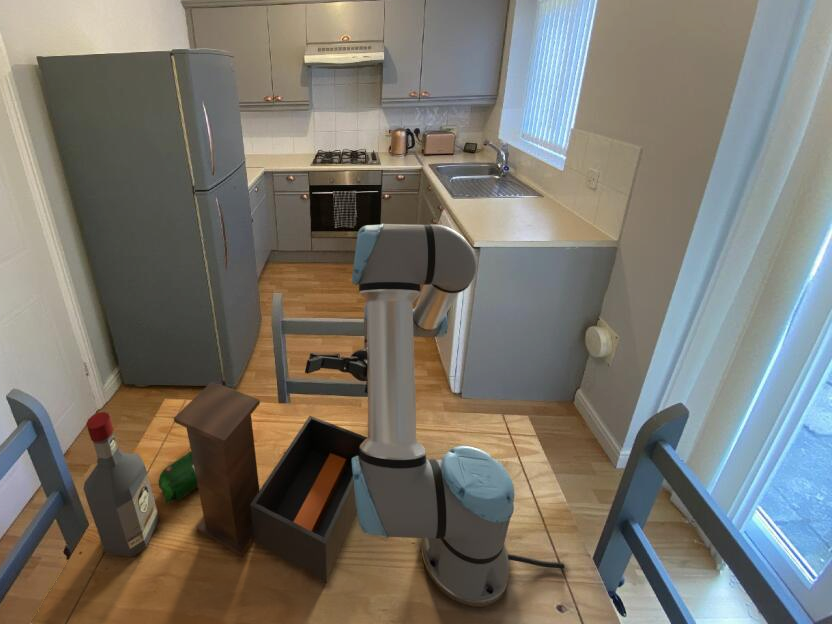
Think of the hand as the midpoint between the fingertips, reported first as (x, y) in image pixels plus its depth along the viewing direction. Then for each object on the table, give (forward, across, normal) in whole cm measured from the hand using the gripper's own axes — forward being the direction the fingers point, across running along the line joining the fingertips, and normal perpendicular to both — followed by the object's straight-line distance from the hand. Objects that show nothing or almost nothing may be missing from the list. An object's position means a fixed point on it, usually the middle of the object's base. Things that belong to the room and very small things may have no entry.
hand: (336, 376), depth 86 cm
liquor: (+13, +31, -39) cm, 51 cm away
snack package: (0, +28, -31) cm, 42 cm away
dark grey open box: (-5, 0, -28) cm, 28 cm away
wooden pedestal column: (+4, +14, -33) cm, 36 cm away
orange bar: (-5, 0, -27) cm, 27 cm away
